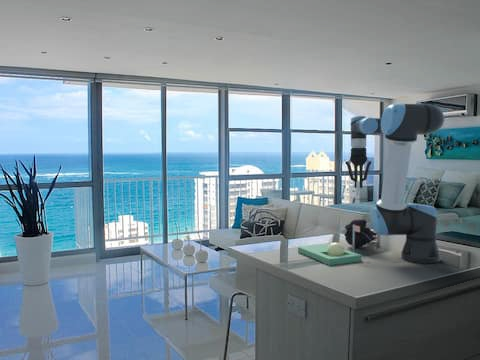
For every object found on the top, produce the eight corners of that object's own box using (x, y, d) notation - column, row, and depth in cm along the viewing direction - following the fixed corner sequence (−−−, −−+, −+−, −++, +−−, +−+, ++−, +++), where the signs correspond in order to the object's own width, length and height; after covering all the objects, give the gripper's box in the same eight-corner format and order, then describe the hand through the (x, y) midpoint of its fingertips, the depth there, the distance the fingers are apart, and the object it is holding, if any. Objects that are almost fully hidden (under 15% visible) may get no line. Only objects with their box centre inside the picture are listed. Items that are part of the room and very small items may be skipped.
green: (298, 252, 189) (298, 246, 189) (327, 248, 195) (327, 243, 195) (329, 265, 167) (329, 259, 166) (361, 261, 173) (361, 255, 173)
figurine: (389, 229, 207) (365, 217, 184) (385, 255, 204) (360, 246, 182) (362, 226, 216) (336, 214, 193) (358, 251, 213) (331, 241, 191)
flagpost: (352, 256, 180) (352, 224, 179) (353, 256, 180) (353, 224, 180) (358, 259, 176) (359, 226, 175) (360, 258, 176) (360, 226, 176)
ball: (348, 244, 176) (340, 252, 181) (333, 236, 176) (326, 244, 181) (345, 257, 171) (337, 265, 176) (330, 248, 172) (322, 257, 177)
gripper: (373, 147, 209) (373, 194, 210) (346, 148, 215) (346, 193, 216) (370, 146, 203) (370, 195, 203) (343, 147, 208) (343, 194, 209)
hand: (358, 194), depth 210 cm, fingers closed
